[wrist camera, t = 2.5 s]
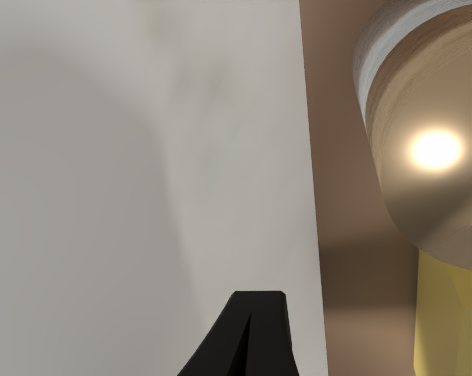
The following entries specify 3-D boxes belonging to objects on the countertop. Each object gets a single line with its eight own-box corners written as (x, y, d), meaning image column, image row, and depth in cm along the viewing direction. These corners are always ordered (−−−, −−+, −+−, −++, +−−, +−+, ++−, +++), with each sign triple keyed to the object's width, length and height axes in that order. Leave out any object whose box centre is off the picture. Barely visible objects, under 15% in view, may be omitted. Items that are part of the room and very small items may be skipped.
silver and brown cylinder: (450, -54, 8) (592, -45, 4) (535, 66, 9) (733, 182, 5) (322, 56, 10) (327, 154, 5) (406, 153, 10) (470, 307, 6)
